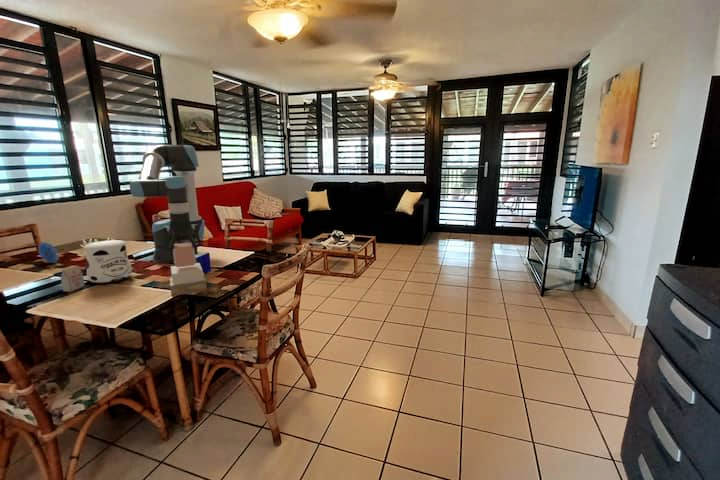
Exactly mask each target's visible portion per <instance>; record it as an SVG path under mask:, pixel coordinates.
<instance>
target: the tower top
mask: <svg viewBox="0 0 720 480" xmlns="http://www.w3.org/2000/svg"><path fill="white" fill-rule="evenodd" d="M170 272H171V276H172V280H173V285H178V284H184V283H191V282H197V281H203V280H204V279H203V270H202V268H201V265H200V263H194V265H192V266H184V267H177V266H176V265H172V266H170Z"/></svg>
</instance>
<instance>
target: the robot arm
mask: <svg viewBox="0 0 720 480" xmlns="http://www.w3.org/2000/svg"><path fill="white" fill-rule="evenodd" d="M199 167H200V166H199V159H198V155H197V152H196V148H195V147H194V146H193V145H187V144H159V145H155V146H153V147H151V148H149V149H147V151H145V152H144V154H143V156H142V168H141V170H140V174H139V176H138V179H132V180H130V182H129V190H130V194H131V196H132V197H134V198H159V197H161V198H163V197H165V198H166V197H167V204H168V205H167V206H168V212H170V213H169V218H168V219H163V220H159V221H155V222H154V223H152V225H151V228H152V231H151V232H152V236H153V242H154V243H153V244H154V250H153V251H154V252H153V255H152V262H153V264H157V265H158V264H159V265H165V264H166V265H167V264H174V265H173V266H176V258H175V250H174V244H179V243H183V242H191V243H192V248H193V257H194V263H195V262H196V260H195V255H197V254H198V253H197V252H198V248H199V247H201V246H202V243H201V241H202V240H204V237H205V220H204V219H202V216H200V215H199V210H198V200H197V191H196V183H195V172H197V168H199ZM162 168H171V169H172V171H173V172H174V173H175V174H176V175H172V176H171V175H170V176H166V177H165V179H160V175H161V170H162ZM196 242H197V243H196Z"/></svg>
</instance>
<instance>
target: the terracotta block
mask: <svg viewBox="0 0 720 480" xmlns="http://www.w3.org/2000/svg"><path fill="white" fill-rule="evenodd" d="M192 247H193V245H192V243H191V241H188V242H178V244H174V250H175V258H176V265H175V266H177V267H184V266H192V265H194V257H193V248H192Z"/></svg>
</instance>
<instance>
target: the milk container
mask: <svg viewBox="0 0 720 480" xmlns="http://www.w3.org/2000/svg"><path fill="white" fill-rule="evenodd" d="M84 252H85V257H86V258H85V259H86V262H87V269H86V276H87V278H88V280H89V281H90V282H91V283H94V284H102V285H103V284H111V283H117V282H121V281H122V280H125V279H127V278H129V277H131V275H132V264H131V262H130V261H129V258H128V256H129V255H128V250H127V246H126V242H125V241H124V240H122V239H121V240H120V239H119V240H118V239H114V240H113V239H112V240H100V241H95V242H90V243H88V244H86V245H85V246H84Z"/></svg>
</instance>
